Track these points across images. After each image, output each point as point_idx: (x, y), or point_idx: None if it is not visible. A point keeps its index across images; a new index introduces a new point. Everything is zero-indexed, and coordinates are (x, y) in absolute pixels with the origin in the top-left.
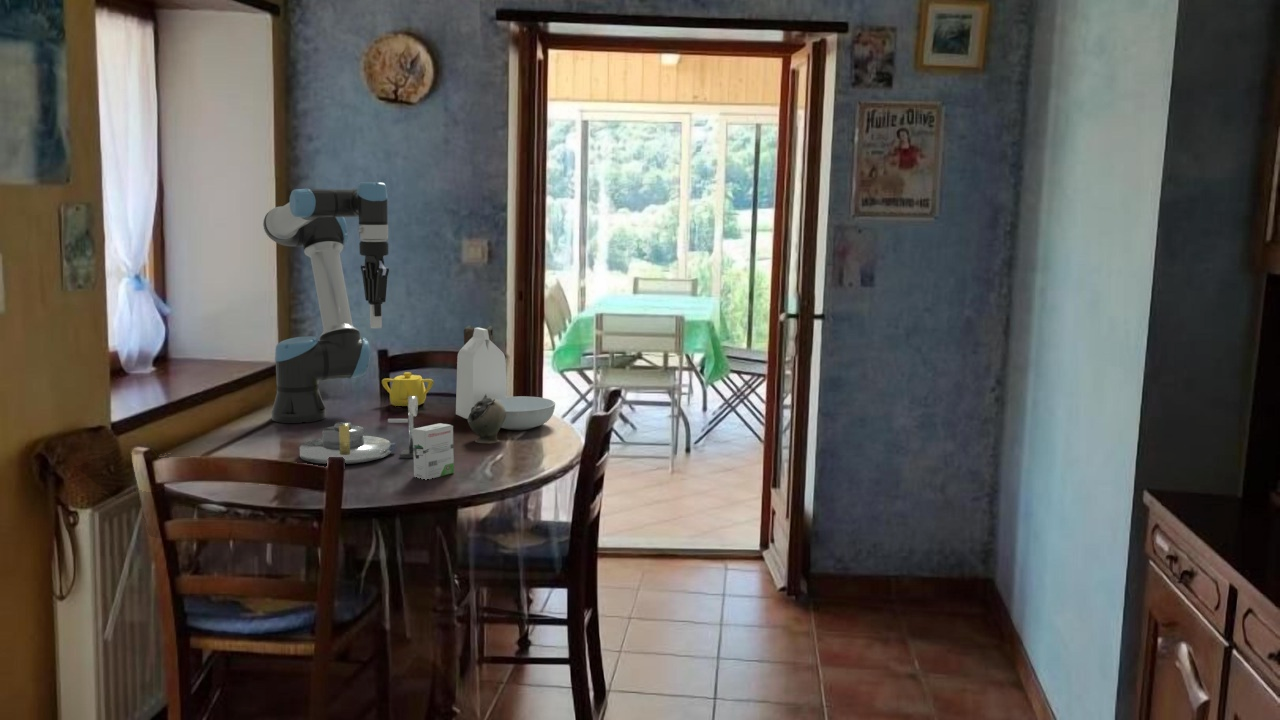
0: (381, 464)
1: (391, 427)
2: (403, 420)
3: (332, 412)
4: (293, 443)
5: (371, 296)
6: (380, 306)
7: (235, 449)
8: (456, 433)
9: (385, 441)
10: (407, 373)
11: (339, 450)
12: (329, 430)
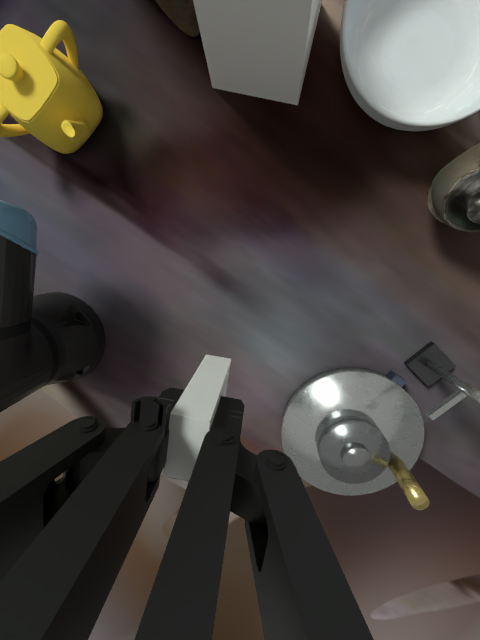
0: (431, 422)
1: (228, 264)
2: (457, 400)
3: (49, 268)
4: None
5: (143, 510)
6: (239, 438)
7: None
8: (357, 205)
9: (379, 382)
10: (15, 71)
11: None
12: (343, 471)
